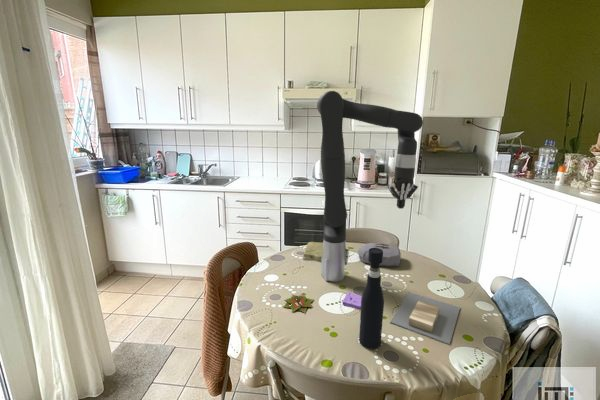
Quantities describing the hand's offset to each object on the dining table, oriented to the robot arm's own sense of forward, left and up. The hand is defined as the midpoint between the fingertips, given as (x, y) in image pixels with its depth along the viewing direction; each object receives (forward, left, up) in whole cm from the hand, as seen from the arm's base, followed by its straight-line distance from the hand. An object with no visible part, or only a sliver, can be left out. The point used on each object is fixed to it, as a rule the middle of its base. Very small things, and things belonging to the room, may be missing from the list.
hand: (400, 208), depth 123 cm
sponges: (-24, -15, -31) cm, 42 cm away
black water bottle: (-30, -34, -31) cm, 55 cm away
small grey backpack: (0, +15, -31) cm, 34 cm away
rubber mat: (-5, -28, -30) cm, 41 cm away
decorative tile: (-22, +28, -31) cm, 47 cm away
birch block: (-3, -26, -28) cm, 39 cm away
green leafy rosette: (-46, -9, -31) cm, 56 cm away
